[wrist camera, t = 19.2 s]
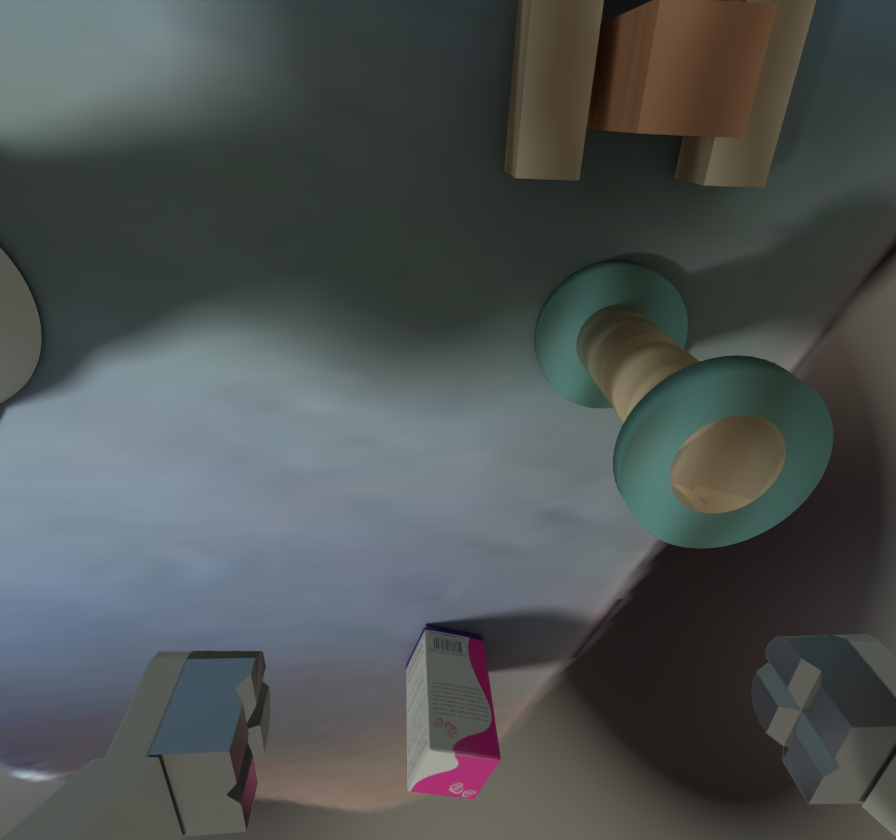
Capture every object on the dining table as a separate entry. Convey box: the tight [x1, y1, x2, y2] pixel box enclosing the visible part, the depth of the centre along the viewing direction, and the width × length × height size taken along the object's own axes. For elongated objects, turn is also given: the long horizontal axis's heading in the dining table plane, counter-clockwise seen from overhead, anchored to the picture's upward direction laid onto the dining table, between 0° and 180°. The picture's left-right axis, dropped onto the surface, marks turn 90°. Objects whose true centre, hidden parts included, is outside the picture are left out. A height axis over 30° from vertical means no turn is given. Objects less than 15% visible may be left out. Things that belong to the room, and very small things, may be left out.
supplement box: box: [406, 625, 501, 799], centre depth 49 cm, size 6×6×12 cm
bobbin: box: [535, 260, 833, 548], centre depth 32 cm, size 10×10×17 cm
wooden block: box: [586, 0, 778, 138], centre depth 29 cm, size 5×5×9 cm
